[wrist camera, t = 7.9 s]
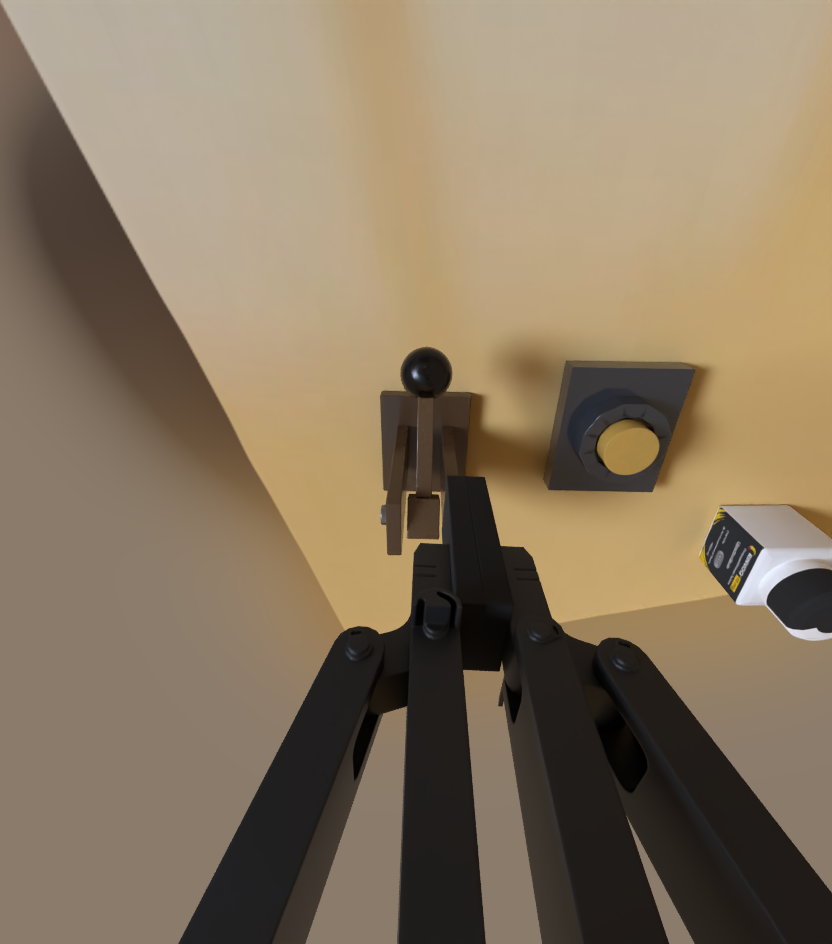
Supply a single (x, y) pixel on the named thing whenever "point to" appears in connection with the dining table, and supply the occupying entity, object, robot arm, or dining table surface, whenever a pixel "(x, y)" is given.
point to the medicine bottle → (774, 565)
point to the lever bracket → (402, 452)
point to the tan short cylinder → (627, 447)
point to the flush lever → (425, 435)
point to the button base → (612, 420)
